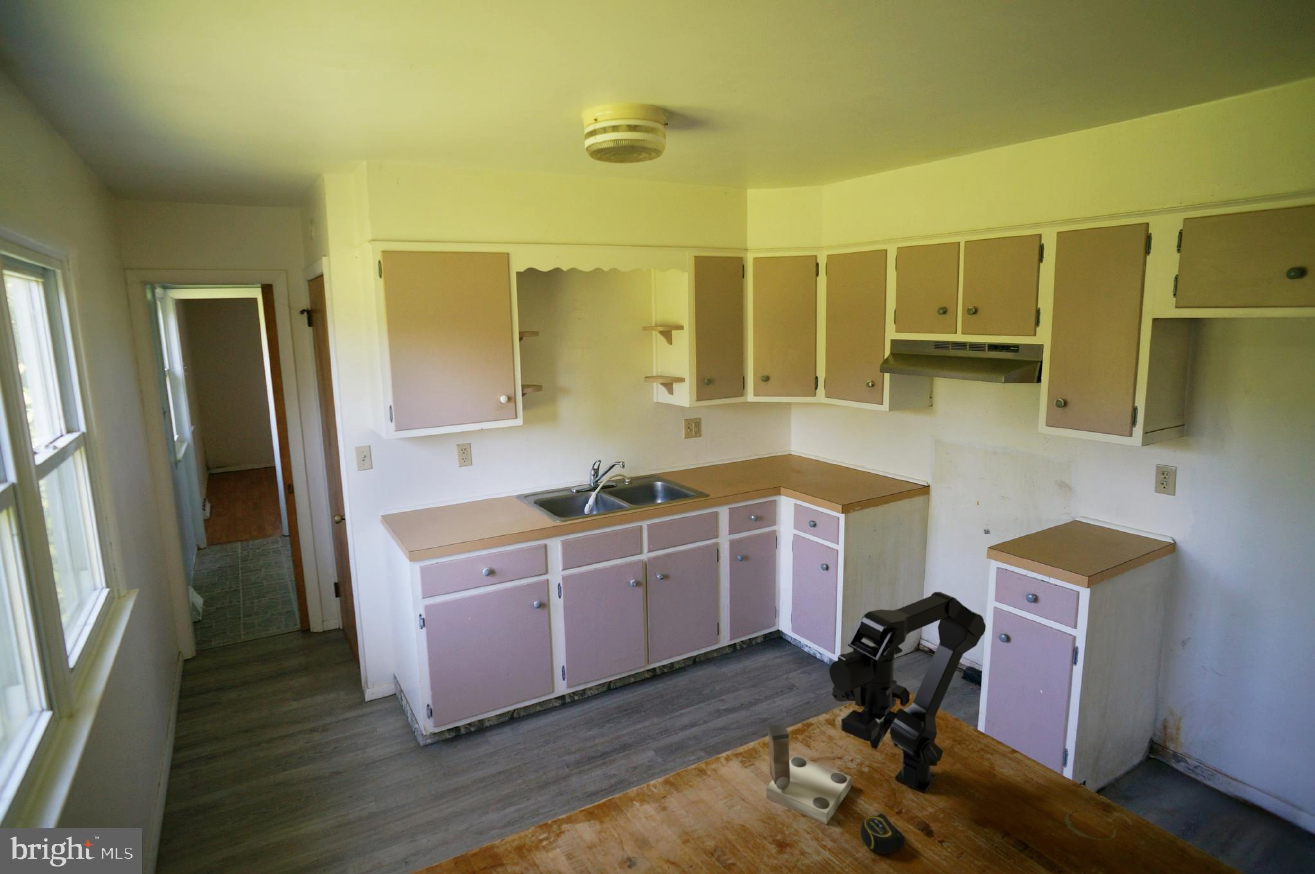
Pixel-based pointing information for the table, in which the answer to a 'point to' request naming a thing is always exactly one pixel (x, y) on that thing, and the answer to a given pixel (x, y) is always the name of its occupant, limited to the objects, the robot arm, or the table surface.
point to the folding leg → (779, 755)
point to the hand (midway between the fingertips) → (874, 747)
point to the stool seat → (811, 789)
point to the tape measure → (881, 834)
